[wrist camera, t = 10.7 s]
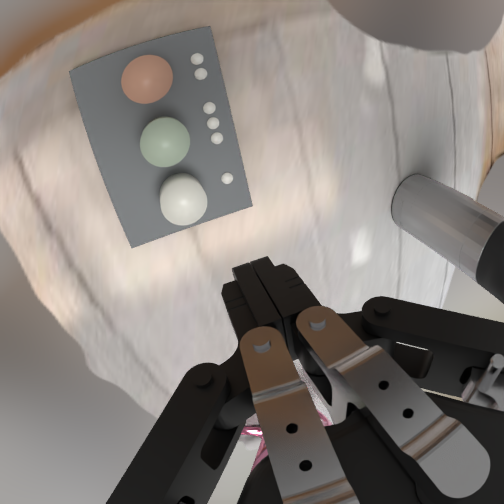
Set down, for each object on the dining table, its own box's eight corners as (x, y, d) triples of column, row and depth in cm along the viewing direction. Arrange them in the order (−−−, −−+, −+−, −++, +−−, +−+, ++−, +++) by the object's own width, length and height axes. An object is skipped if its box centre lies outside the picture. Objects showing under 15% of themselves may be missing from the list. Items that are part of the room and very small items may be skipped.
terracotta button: (164, 53, 23) (166, 48, 21) (175, 95, 25) (178, 94, 23) (119, 68, 22) (115, 64, 20) (130, 109, 25) (128, 110, 22)
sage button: (179, 110, 26) (182, 111, 24) (191, 152, 29) (195, 158, 26) (135, 125, 26) (133, 128, 23) (148, 166, 28) (148, 174, 25)
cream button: (195, 167, 30) (200, 174, 27) (207, 206, 32) (212, 216, 29) (153, 181, 29) (154, 190, 26) (167, 219, 31) (169, 231, 29)
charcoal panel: (206, 30, 25) (210, 25, 23) (247, 200, 35) (253, 206, 34) (73, 72, 23) (68, 71, 21) (132, 240, 33) (131, 249, 31)
